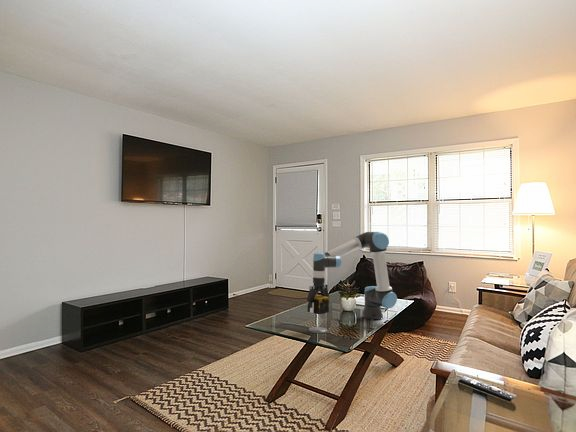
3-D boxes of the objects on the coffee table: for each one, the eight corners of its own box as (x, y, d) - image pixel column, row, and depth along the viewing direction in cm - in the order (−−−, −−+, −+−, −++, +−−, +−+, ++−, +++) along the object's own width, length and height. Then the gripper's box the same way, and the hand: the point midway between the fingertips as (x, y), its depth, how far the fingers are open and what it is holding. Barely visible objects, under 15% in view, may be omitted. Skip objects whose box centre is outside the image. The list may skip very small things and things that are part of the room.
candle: (307, 311, 220) (307, 296, 221) (317, 309, 227) (317, 294, 227) (319, 314, 213) (319, 298, 213) (329, 312, 220) (329, 296, 220)
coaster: (318, 326, 228) (318, 325, 228) (331, 331, 218) (331, 330, 218) (305, 329, 221) (305, 328, 221) (317, 334, 211) (317, 333, 211)
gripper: (327, 275, 231) (326, 308, 230) (301, 277, 217) (300, 312, 216) (335, 276, 225) (334, 310, 224) (309, 279, 211) (308, 315, 210)
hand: (318, 311), depth 220 cm, fingers closed on candle, 10 cm apart
